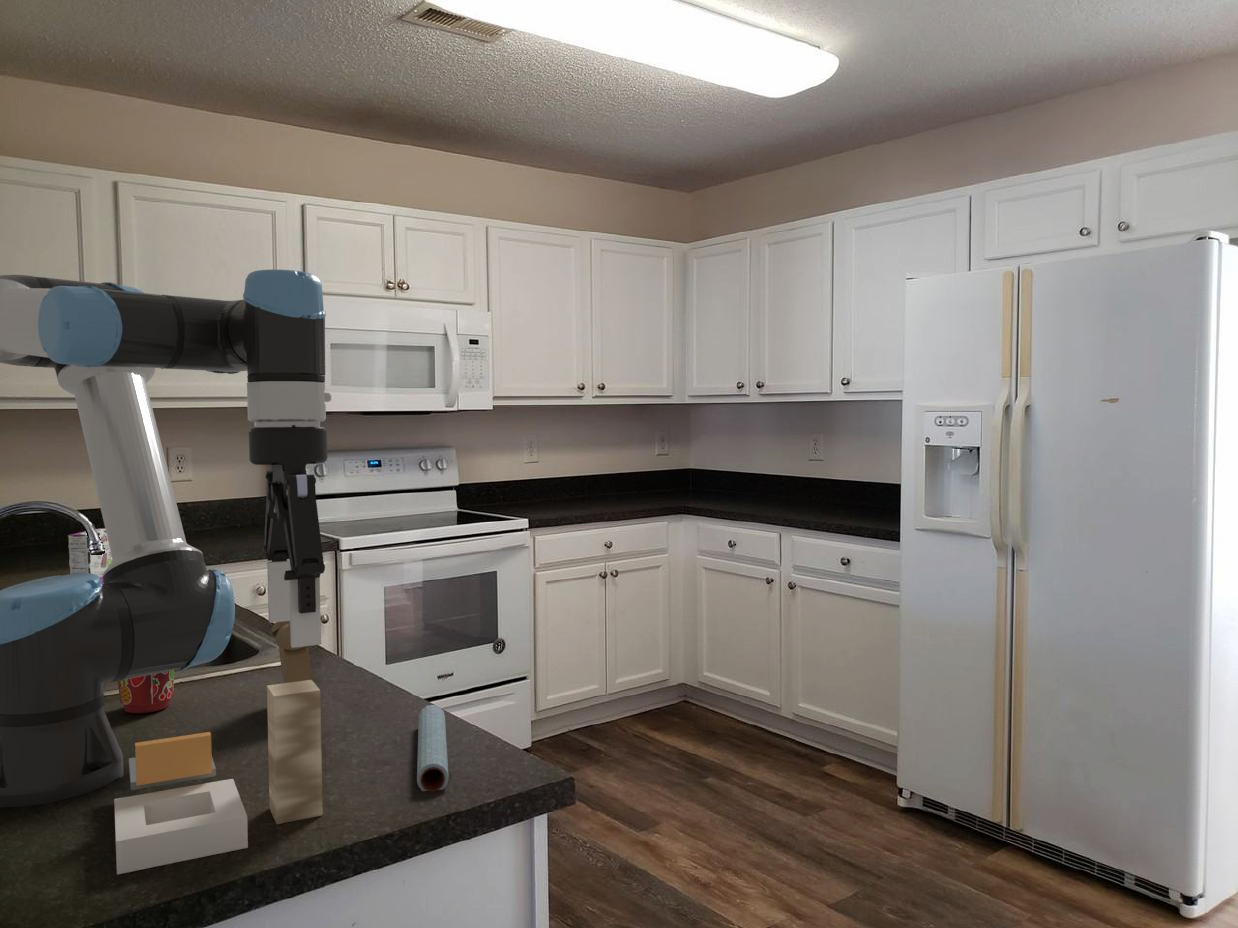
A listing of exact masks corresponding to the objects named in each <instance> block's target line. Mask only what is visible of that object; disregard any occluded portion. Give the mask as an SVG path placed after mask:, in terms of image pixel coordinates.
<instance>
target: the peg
mask: <svg viewBox="0 0 1238 928" xmlns="http://www.w3.org/2000/svg"><path fill="white" fill-rule="evenodd" d="M266 692H267V693H266V695H267V696H266V697H267V698H266V699H267V700H266V707H267V743H268V744H267V751H268V754H267V755H268V785H269V786H268V789H269V790H268V793H269V795H268V797H269V810H270V812H271V814H272V817H273V820H274V822H275V824H276V825H281V824H284V823H285V824H286V823H289V822H290V823H291V822H295V821H301V820H305V819H311V818H316V817H319V816H323V811H324V810H323V807H324V806H323V769H322V768H323V767H322V765H323V763H322V760H323V759H322V722H321V721H322V717H321V716H322V715H321V713H322V712H321V711H322V710H321V709H322V708H321V689H320V688H319V687H318V686H317V684H316V683H315V682H314V680H313V681H312V680H306V681H298V682H290V683H284V682H283V683H276V684H269V685H266Z"/></svg>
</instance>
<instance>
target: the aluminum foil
mask: <svg viewBox="0 0 1238 928" xmlns="http://www.w3.org/2000/svg"><path fill="white" fill-rule="evenodd" d="M446 726H447V725H446V716H445V711H444V710H443V709H442V707H440V706H439V705H437V704H430V705H426V706H424V707H423V708H422V709H421V710H420V712H419V715H418V726H417V727H418V729H417V731H418V732H417V759H416V760H417V765H416V768H417V769H416V782H417V787H418V788H419V789H420V790H421V791H422V792H437V791H443V790H445V789H446V787H447V786H448V783H449V765H448V763H449V762H448V745H447V727H446Z"/></svg>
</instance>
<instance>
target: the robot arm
mask: <svg viewBox="0 0 1238 928" xmlns="http://www.w3.org/2000/svg"><path fill="white" fill-rule="evenodd" d="M244 282H245V284H244V291H243V294H242V299H237V300H221V299H214V298H213V299H212V298H201V297H193V296H192V297H189V296H182V295H181V296H180V295H179V296H178V295H168V294H157V293H156V294H155V293H148V292H147V293H146V292H144V291H142V290H141V289H138V288H136V287H132V286H126V285H119V284H118V283H114V282H110V281H109V282H107V281H106V282H101V283H100V282H99V283H97V282H90V281H89V282H88V281H81V280H80V281H79V280H69V279H60V278H49V277H43V276H35V275H34V276H33V275H25V274H3V275H0V364H6V365H10V366H17V367H20V366H21V367H31V368H50V369H52V368H53V369H54V371H55V374H56V375H55V376H56V379H57V383H58V385H59V387H60V388H61V389H63V390H64V391H66V392H67V393H69V394H71V395H74V399H75V403H76V407H77V411H78V416H79V419H80V420H79V421H80V425H81V430H82V433H83V439H84V442H85V445H86V446H85V447H86V449H87V450H86V451H87V455H88V459H89V463H90V464H89V465H90V467H91V471H92V478H93V481H94V486H95V489H96V494H97V499H98V502H99V503H98V504H99V507H100V511H101V516H102V519H103V525H104V529H106V533H107V538H108V542H109V546H110V551H111V555H112V559H113V560H112V562H111V564H110V565H109V566H108V568H107V569H106V570H105V571H104V573H103V575H102V578H103V583H104V584H103V583H102V581H101V580H100V578H99V576H97V575H96V574H92V573H73V574H70V573H68V574H64V575H60V574H58V575H53V576H47V577H41V578H36V579H32V580H28V581H24V582H20V583H17V584H14V585H11V586H7V587H5V588H3V589H0V808H19V807H20V808H21V807H30V806H39V805H45V804H49V803H55V802H58V801H65V800H67V799H71V798H75V797H79V796H81V795H85V794H88V793H91V792H94V791H96V790H99V789H100V788H103V787H105V786H107V785H109V784H110V783H112V782H114V781H115V780H116V779H118V778H123V776H124V756H123V752H122V749H121V747H120V745H119V743H118V741H117V738H116V736H115V733H114V730H113V728H112V726H111V723H110V720H109V719H108V716H107V714H106V710H105V693H104V692H105V685H107V684H110V683H116V682H118V681H121V680H126V679H132V678H137V677H142V676H147V675H152V674H157V673H162V672H167V671H172V670H174V671H176V670H179V671H184V670H187V669H189V668H190V667H195V666H198V665H202V664H206V663H209V662H211V661H214V660H216V659H217V658H219V656H221V655H222V653H223V652H224V651H225V649H226V648H227V646H228V644H229V642H230V639H231V637H232V632H233V629H234V624H235V615H236V607H235V606H236V604H235V596H234V590H233V586H232V583H231V581H230V579H229V577H228V576H226V573H224V571H222V570H219V569H215V568H209V569H208V568H207V564H206V562H205V559H204V554H203V552H202V551H201V550H200V549H198V548H196V547H194V546H192V545H190V544H189V543H187V540H186V535H185V532H184V528H183V523H182V520H181V516H180V511H179V508H178V505H177V501H176V497H175V492H174V488H173V485H172V481H171V477H170V476H171V475H170V473H169V469H168V465H167V461H166V457H165V453H164V449H163V445H162V441H161V437H160V434H159V429H158V425H157V421H156V417H155V413H154V409H153V405H152V401H151V397H150V393H149V389H148V386H147V384H148V382H149V381H150V380H151V379H152V378H153V377H154V376H155V372H156V369H163V370H164V369H167V370H183V371H184V370H185V371H186V370H189V371H190V370H191V371H205V372H209V373H214V374H228V375H234V374H235V375H236V374H238V373H241V372H246V373H247V376H246V378H247V382H246V395H247V396H246V400H247V405H246V406H247V420H248V422H250V423H253V424H254V428H250V431H248V447H249V448H248V449H249V451H248V452H249V453H248V455H249V457H248V458H249V461H250V462H251V464H253V465H257V466H273V469H272V470H266V473H265V479H266V501H265V502H266V503H265V519H264V522H265V523H264V540H263V545H262V550H263V551H264V553H265V558H266V560H267V562H266V566H267V568H266V569H267V572H266V573H267V599H268V601H267V603H268V604H267V605H268V607H267V608H268V623H270V624H272V623H273V624H275V623H276V622H283V621H290V636H291V647H292V648H295V647H303V646H308V647H309V646H317V645H318V646H319V645H322V628H321V627H322V626H321V624H322V622H321V619H322V618H321V584H320V583H321V581H320V579H321V575H322V574H324V573H325V570H326V564H325V561H324V555H323V546H322V538H321V537H322V536H321V530H320V529H321V528H320V521H319V513H318V512H319V511H318V506H317V505H318V504H317V494H316V483H317V480H316V479H317V478H316V477H315V476H316V475H315V474H307V469H306V468H307V465H315V464H323V463H325V462H326V461H328V431H327V430H326V428H325V427H321V422H325V421H326V419H327V411H326V410H327V409H326V408H327V407H326V403H328V402H331V400H332V395H331V393H330V392H325V390H326V316H327V315H326V310H325V308H324V296H323V285H322V282H321V280H320V279H319V277H317V276H316V275H315V274H312V273H310V272H306V271H301V270H293V269H260V270H259V269H258V270H254V271H251V272H249V273H248V274H247V277H246V278H245V281H244Z"/></svg>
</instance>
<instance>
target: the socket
mask: <svg viewBox="0 0 1238 928" xmlns="http://www.w3.org/2000/svg"><path fill="white" fill-rule="evenodd" d="M114 827H115V832H114V833H115V853H116V854H115V855H116V856H115V859H116V860H115V861H116V875H121V874H127V873H131V872H136V871H140V870H145V869H150V868H154V867H155V868H156V867H161V866H165V865H166V866H167V865H171V864H174V863H175V864H177V863H179V862H185V861H190V860H194V859H199V858H204V857H208V856H213V855H218V854H225V853H228V852H232V851H233V852H234V851H238V850H242V849H248V848H249V841H248V840H249V838H248V833H249V831H248V830H249V829H248V815H247V812H246V809H245V807H244V804H243V801H242V799H241V796H240V793H239V790H238V789H237V785H236V783H235V780H234V778H229V779H223V780H217V781H211V782H205V783H200V784H194V785H188V786H182V787H176V788H171V789H165V790H157V791H153V792H148V793H141V794H136V795H129V796H124V797H118V798H114Z"/></svg>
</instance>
